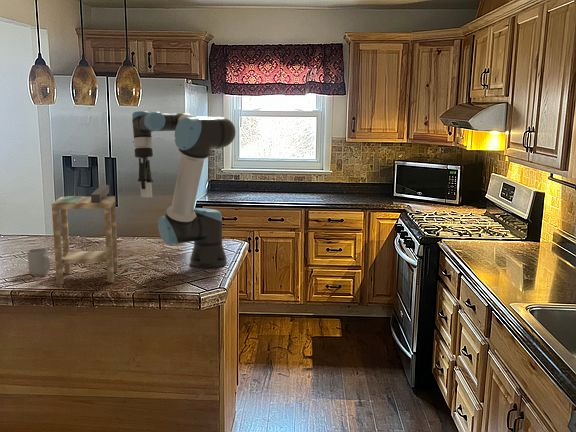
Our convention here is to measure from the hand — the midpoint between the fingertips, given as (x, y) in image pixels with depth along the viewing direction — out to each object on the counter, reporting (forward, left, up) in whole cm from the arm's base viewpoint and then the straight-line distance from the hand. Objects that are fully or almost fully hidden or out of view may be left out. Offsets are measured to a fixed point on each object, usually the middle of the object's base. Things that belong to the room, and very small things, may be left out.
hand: (146, 197), depth 249 cm
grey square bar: (+16, +24, +4) cm, 29 cm away
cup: (+40, +22, -26) cm, 52 cm away
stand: (+21, +30, -26) cm, 45 cm away
